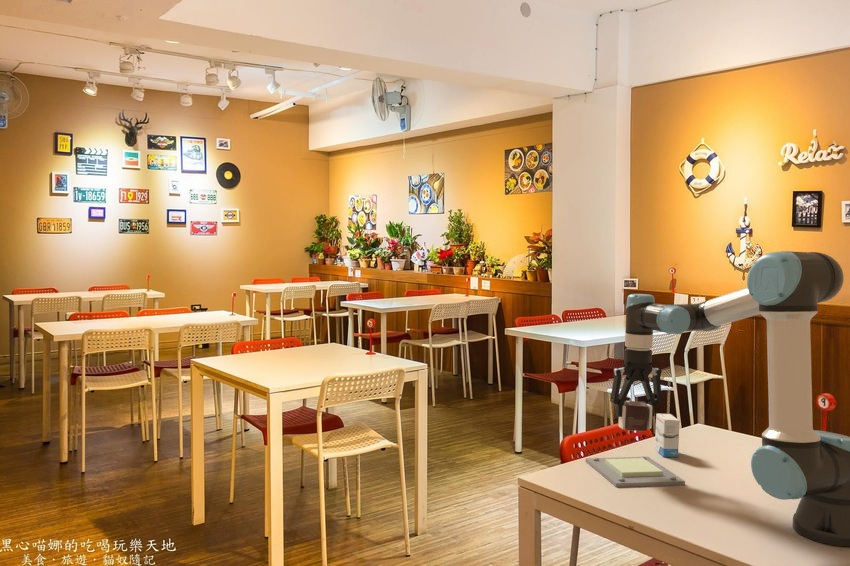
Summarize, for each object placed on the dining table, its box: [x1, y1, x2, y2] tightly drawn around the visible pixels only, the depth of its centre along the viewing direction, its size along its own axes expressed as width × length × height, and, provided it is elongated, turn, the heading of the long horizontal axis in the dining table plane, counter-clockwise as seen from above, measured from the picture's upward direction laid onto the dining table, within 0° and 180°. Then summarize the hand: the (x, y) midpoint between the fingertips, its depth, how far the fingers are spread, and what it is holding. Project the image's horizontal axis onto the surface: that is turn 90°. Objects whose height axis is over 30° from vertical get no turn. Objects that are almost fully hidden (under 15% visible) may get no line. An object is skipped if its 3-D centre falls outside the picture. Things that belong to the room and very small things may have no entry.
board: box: [584, 456, 686, 488], centre depth 203 cm, size 22×20×2 cm
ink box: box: [654, 413, 680, 458], centre depth 222 cm, size 8×5×12 cm, turn 179°
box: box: [624, 400, 648, 432], centre depth 202 cm, size 6×6×7 cm
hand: (634, 427), depth 202 cm, fingers closed on box, 7 cm apart
